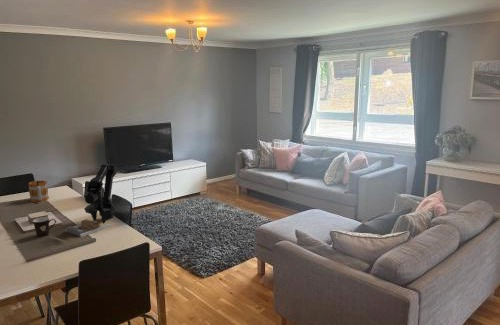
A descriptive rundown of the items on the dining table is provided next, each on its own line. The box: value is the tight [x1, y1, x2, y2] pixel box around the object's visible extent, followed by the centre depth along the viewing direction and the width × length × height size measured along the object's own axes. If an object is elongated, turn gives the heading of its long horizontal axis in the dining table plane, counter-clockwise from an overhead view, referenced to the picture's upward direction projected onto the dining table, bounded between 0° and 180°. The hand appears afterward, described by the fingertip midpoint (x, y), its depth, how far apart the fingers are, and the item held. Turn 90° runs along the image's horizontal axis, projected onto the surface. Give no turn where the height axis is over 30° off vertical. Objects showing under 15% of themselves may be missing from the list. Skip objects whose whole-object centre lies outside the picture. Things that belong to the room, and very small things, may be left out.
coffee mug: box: [32, 216, 57, 238], centre depth 230 cm, size 12×9×10 cm
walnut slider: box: [80, 219, 101, 231], centre depth 237 cm, size 4×14×4 cm, turn 57°
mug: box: [27, 179, 50, 203], centre depth 303 cm, size 20×14×15 cm
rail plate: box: [65, 220, 112, 238], centre depth 236 cm, size 21×18×4 cm
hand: (99, 222), depth 242 cm, fingers open, 9 cm apart
